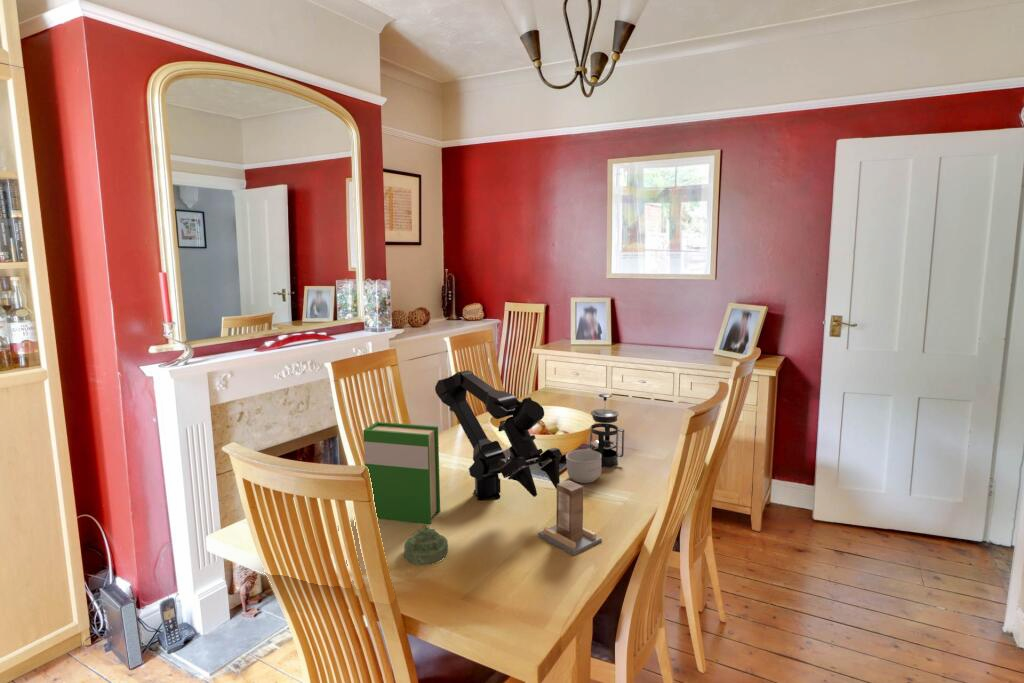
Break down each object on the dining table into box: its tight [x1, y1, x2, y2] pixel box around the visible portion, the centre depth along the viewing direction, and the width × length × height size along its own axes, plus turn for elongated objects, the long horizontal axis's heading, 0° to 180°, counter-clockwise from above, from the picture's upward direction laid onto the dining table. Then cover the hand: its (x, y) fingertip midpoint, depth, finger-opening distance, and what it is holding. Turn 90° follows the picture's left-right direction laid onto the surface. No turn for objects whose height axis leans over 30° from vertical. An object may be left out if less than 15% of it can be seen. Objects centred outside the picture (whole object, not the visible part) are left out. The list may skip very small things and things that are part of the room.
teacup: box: [565, 447, 603, 484], centre depth 179 cm, size 14×11×8 cm
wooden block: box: [555, 479, 584, 541], centre depth 142 cm, size 5×4×13 cm
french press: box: [589, 393, 625, 468], centre depth 191 cm, size 12×9×23 cm
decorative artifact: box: [403, 525, 449, 566], centre depth 136 cm, size 10×7×10 cm
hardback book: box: [362, 421, 441, 525], centre depth 154 cm, size 18×7×24 cm, turn 76°
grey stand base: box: [537, 524, 603, 556], centre depth 143 cm, size 12×10×2 cm
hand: (547, 492), depth 148 cm, fingers open, 9 cm apart
